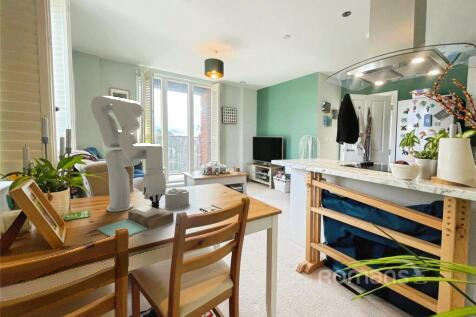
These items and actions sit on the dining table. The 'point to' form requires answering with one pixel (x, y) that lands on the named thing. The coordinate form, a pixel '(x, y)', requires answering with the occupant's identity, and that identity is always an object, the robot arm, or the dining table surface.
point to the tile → (146, 211)
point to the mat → (127, 223)
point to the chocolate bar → (210, 208)
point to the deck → (152, 218)
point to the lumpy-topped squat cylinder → (176, 197)
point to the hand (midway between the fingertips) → (155, 208)
